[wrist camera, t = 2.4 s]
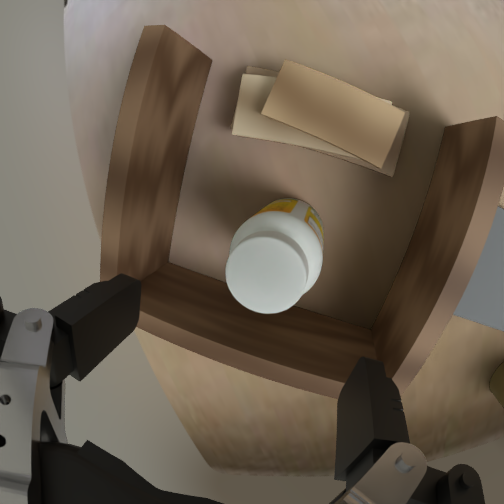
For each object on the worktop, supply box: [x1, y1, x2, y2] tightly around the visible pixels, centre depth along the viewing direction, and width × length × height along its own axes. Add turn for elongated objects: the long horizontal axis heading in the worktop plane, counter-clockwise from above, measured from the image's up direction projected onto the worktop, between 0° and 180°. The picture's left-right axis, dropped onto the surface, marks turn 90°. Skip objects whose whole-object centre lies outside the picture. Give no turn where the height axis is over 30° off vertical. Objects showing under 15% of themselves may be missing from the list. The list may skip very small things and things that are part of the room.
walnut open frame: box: [100, 25, 504, 399], centre depth 19 cm, size 20×22×8 cm
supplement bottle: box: [225, 198, 324, 314], centre depth 19 cm, size 5×5×10 cm
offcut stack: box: [230, 59, 410, 177], centre depth 18 cm, size 6×12×4 cm, turn 76°
